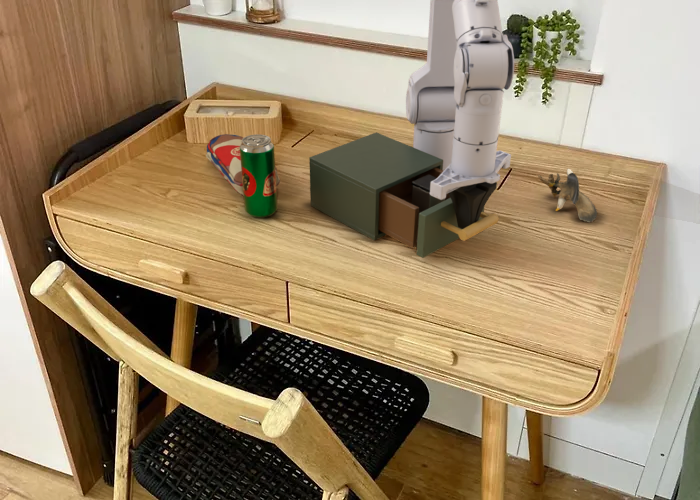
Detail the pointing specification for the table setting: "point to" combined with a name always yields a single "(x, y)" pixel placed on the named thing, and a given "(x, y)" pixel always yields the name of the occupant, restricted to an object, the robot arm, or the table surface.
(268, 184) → the soda can
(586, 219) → the eagle figurine
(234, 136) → the pencil case
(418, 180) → the metal-capped square post
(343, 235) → the table surface
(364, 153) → the cabinet
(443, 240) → the drawer
